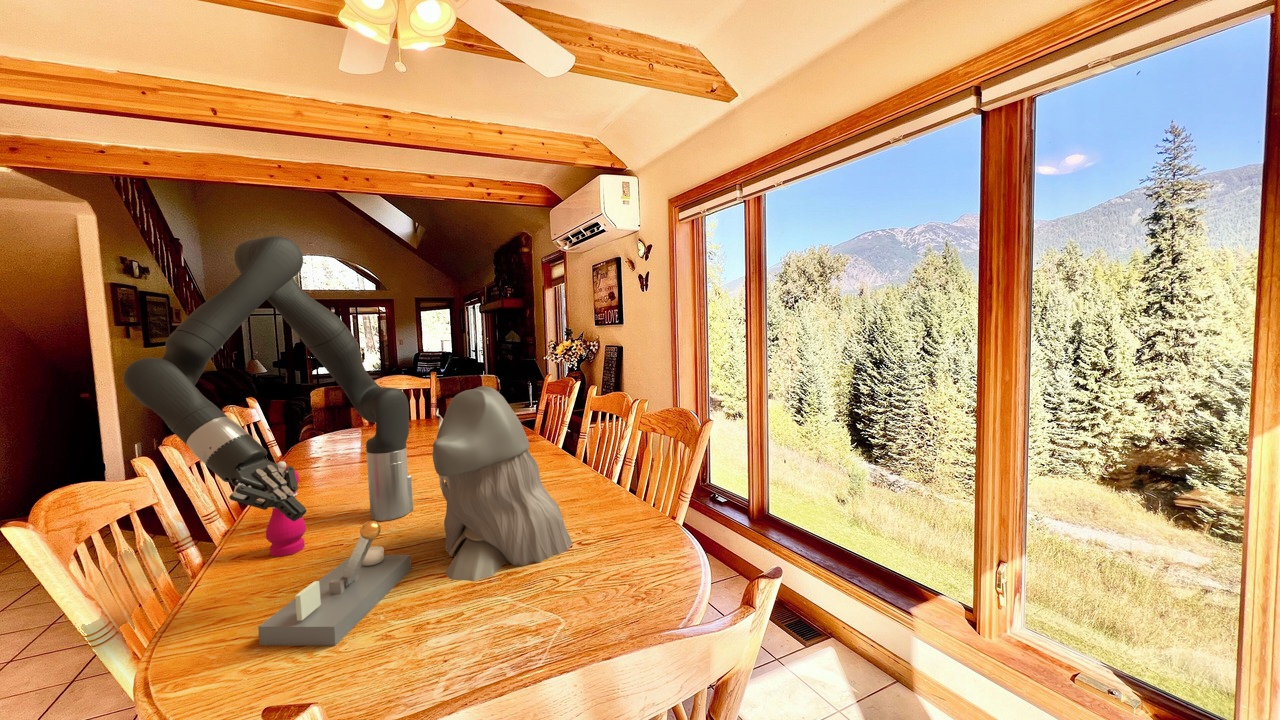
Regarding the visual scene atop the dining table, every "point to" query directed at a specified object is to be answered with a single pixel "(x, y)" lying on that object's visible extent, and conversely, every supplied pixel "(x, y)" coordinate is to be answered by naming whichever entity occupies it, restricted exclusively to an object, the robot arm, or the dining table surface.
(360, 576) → the control panel
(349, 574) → the toggle lever
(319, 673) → the dining table surface
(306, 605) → the paddle switch
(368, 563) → the push button
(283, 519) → the pepper mill
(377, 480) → the robot arm
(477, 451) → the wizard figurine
